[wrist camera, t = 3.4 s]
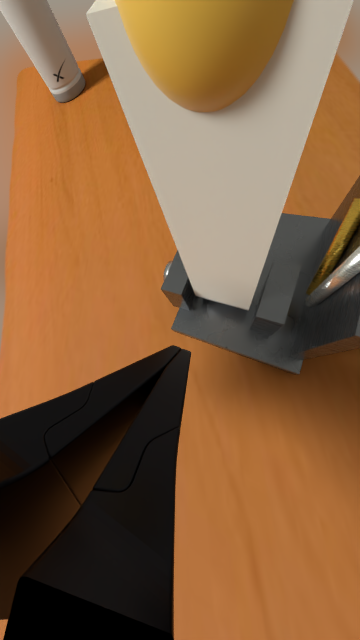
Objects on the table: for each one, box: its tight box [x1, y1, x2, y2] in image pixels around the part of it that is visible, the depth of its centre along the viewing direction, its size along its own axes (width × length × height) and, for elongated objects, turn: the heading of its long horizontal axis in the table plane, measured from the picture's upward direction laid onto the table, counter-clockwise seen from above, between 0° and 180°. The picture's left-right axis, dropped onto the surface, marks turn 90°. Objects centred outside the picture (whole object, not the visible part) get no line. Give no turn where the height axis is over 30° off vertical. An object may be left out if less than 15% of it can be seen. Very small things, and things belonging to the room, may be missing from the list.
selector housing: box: [161, 176, 360, 374], centre depth 13 cm, size 13×11×9 cm
